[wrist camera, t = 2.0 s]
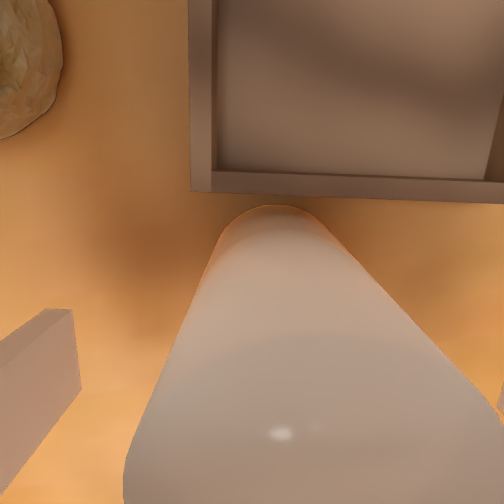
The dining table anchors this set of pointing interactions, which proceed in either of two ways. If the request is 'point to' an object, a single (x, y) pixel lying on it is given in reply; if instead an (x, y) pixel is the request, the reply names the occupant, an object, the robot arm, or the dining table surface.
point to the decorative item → (27, 62)
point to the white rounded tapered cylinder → (307, 387)
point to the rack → (348, 98)
